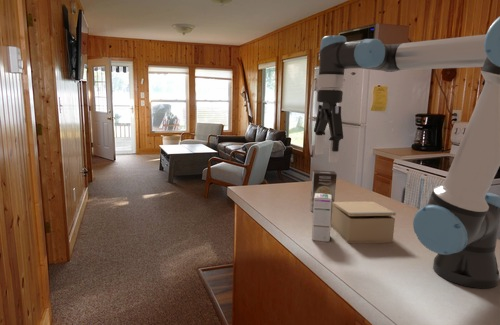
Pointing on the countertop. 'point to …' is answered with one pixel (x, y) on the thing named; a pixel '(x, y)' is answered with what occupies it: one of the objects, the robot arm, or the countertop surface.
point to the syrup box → (321, 217)
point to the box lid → (363, 209)
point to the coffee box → (323, 184)
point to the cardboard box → (362, 227)
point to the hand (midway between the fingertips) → (325, 158)
